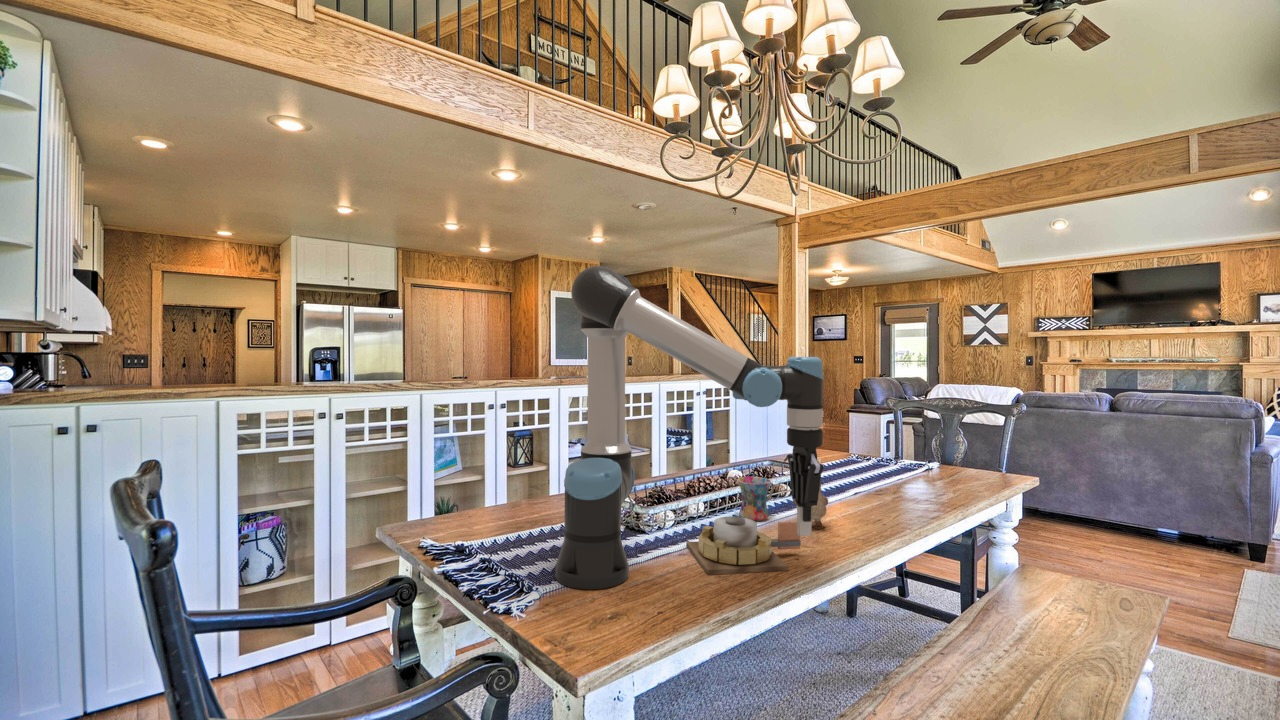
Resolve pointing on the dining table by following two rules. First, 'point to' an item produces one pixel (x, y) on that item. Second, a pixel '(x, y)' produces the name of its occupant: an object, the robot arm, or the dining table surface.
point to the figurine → (818, 509)
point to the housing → (736, 535)
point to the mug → (754, 497)
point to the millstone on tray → (748, 554)
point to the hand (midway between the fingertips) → (804, 534)
